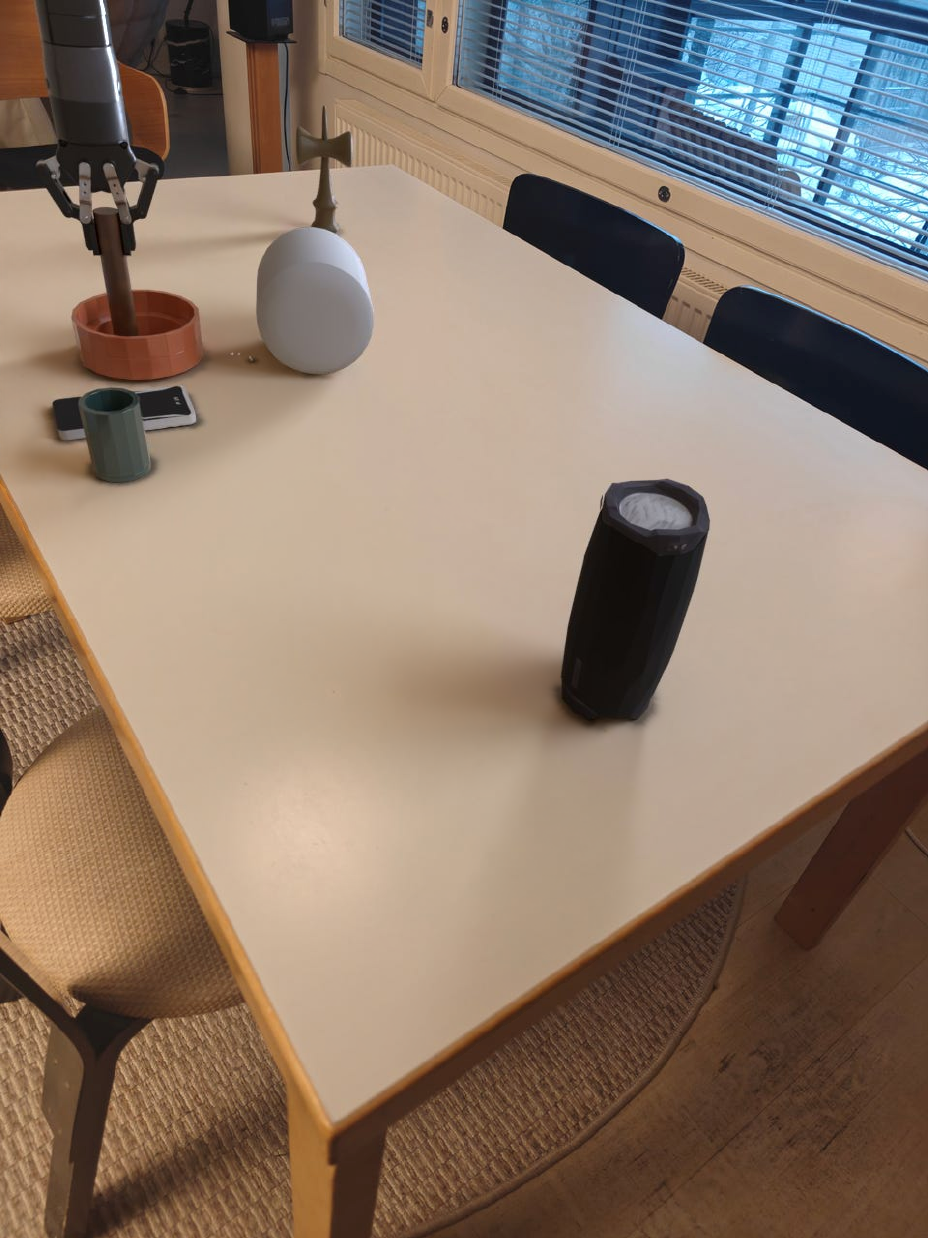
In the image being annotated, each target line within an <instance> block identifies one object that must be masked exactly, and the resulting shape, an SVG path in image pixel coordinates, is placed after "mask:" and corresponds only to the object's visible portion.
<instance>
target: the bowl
mask: <svg viewBox="0 0 928 1238" xmlns="http://www.w3.org/2000/svg"><path fill="white" fill-rule="evenodd" d="M132 295H133V302H134V308H135V314H136V321H137V327H138V334H139V336H117V335H114V332H113V326H112V321H111V315H110V309H109V303H108V298H107V292H104V293H100V294H97V295H93V296H90V297H89V298H88V297H87V298H86V299H85V300H82V301H80V302H79V303H78V304H77V305H76V306H75V307H73V309H71V310H72V311H71V323H72V328H73V333H74V337H75V343H76V347H77V351H78V352H77V353H78V357H79V359H80V361H81V363H82V364H83V366H84V367H86V368H87V369H89V370H90V371H92V372H94V373H96V374H98V375H100V376H105V377H108V378H112V379H122V380H129V381H143V380H145V381H147V380H156V379H157V380H158V379H163V378H168V377H174V376H176V375H178V374H181V373H185V372H187V371H189V370H191V369H192V368H193V367H196V366H197V365H199V363H200V362H201V361H202V359H203V357H204V355H205V354H204V343H203V336H202V335H203V334H202V326H201V318H200V309H199V307H198V306H197V305H196V304H195V303H194V302H193V301H192V300H190V299H188V298H186V297H184V296H183V295H179V294H175V293H172V292H169V291H168V292H167V291H164V290H163V291H162V290H155V289H154V290H153V289H132Z"/></svg>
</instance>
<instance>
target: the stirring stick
mask: <svg viewBox="0 0 928 1238" xmlns="http://www.w3.org/2000/svg"><path fill="white" fill-rule="evenodd" d="M92 216H93V219H94V223H95V229H96V235H97V240H98V246H99V252H100V256H99V257H100V263H101V268H102V273H103V274H102V275H103V280H104V286H105V293H107V298H108V303H109V309H110V315H111V321H112V326H113V332H114V335H117V336H139V334H138V327H137V321H136V314H135V308H134V302H133V295H132V290H133V289H132V283H131V277H130V270H129V264H128V256H125V252H124V246H123V240H122V233H121V227H120V223H121V218H120V215H119V212H118V209H117V207H116V208H115V207H112V206H99V207H95V208H92Z"/></svg>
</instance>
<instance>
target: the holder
mask: <svg viewBox="0 0 928 1238" xmlns="http://www.w3.org/2000/svg"><path fill="white" fill-rule="evenodd" d="M133 391H134V390H130V389H127V388H124V387H115V386H114V387H113V386H109V387H101V388H95V389H93V390H90V391H87V392H85V393H83V395H82V397H81V396H80V397H81V398H80V399H79V410H80V414H81V419H82V423H83V428H84V432H85V436H86V438H85V440H86V445H87V450H88V454H89V459H90V462H91V467H92V470H93V473H94V475H95V476H96V477H97V478H99V479H101V480H103V481H106V482H110V483H128V482H132V481H136V480H139V479H141V478H143V477H145V476H146V475H147V474H148V473H149V471H150V470H151V467H152V465H151V457H150V451H149V445H148V438H147V434H146V430H145V427H144V421H143V415H142V409H141V404H140V398H139V396H138V395H137V394H136V393H135V392H133Z"/></svg>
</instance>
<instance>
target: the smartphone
mask: <svg viewBox="0 0 928 1238" xmlns="http://www.w3.org/2000/svg"><path fill="white" fill-rule="evenodd" d="M132 391H133V392H135V393H136V394H137V395H138V396H139V398H140V404H141V409H142V415H143V421H144V427H145V431H151V430H159V429H166V428H167V429H168V428H174V427H182V426H190V425H193V424H195V423H196V422H197V416H196V410H195V407H194V405H193V402H192V400H191V397H190V396H189V393H188V391H187V389H186V387H185V386H183V385H171V386H160V387H151V388H144V389H143V388H142V389H135V390H132ZM82 396H83V395H82ZM82 396H81V395H80V396H73V397H72V396H71V397H65V398H64V397H63V398H57V399H54V400H53V401H52V403H51V405H52V408H53V414H54V419H55V424H56V429H57V432H58V436H59V439H60V440H61V441H65V442H66V441H76V440H84V439H86V436H85V432H84V428H83V423H82V419H81V414H80V410H79V399H80V398H81V397H82Z"/></svg>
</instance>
